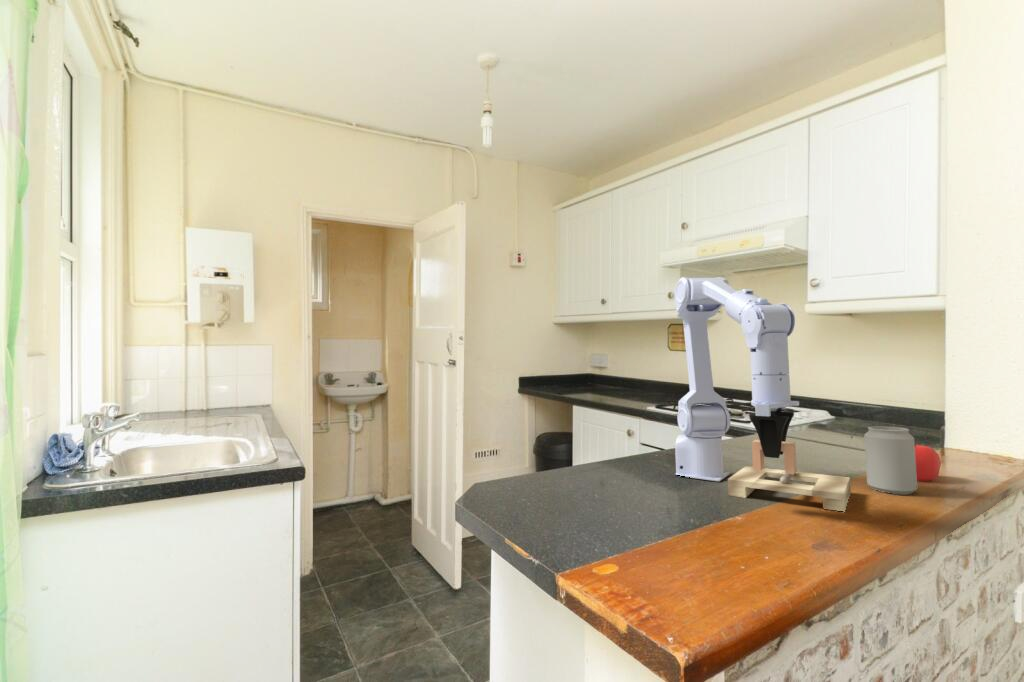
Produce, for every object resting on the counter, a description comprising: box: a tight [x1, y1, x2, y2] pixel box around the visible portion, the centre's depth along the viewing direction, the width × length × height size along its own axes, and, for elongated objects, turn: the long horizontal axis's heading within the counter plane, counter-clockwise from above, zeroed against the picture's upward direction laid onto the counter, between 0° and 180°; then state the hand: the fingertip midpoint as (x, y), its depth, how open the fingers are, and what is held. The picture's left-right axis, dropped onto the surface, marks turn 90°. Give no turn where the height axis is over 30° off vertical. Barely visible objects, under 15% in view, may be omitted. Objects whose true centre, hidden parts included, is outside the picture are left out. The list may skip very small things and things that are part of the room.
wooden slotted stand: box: [727, 465, 852, 513], centre depth 88 cm, size 18×14×4 cm
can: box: [863, 425, 918, 496], centre depth 90 cm, size 8×8×12 cm
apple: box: [914, 439, 942, 482], centre depth 98 cm, size 8×8×8 cm
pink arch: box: [751, 439, 798, 474], centre depth 79 cm, size 6×3×5 cm, turn 51°
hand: (773, 455), depth 79 cm, fingers closed on pink arch, 3 cm apart
